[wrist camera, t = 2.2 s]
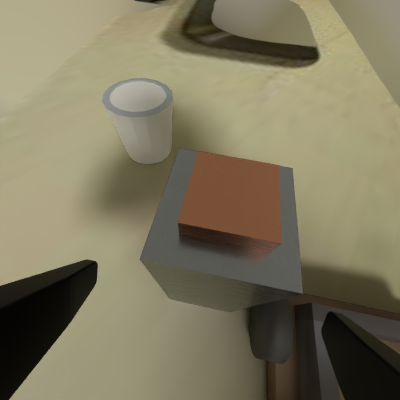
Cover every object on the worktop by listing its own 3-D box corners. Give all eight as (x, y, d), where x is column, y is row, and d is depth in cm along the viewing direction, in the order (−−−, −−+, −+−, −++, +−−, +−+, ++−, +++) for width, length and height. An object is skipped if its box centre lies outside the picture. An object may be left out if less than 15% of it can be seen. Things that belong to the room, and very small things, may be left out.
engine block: (229, 312, 16) (322, 289, 5) (169, 299, 16) (131, 248, 5) (235, 252, 19) (304, 150, 8) (183, 242, 19) (178, 129, 8)
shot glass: (126, 173, 23) (105, 122, 17) (118, 135, 26) (98, 81, 20) (183, 161, 24) (181, 109, 18) (168, 126, 28) (163, 73, 22)
